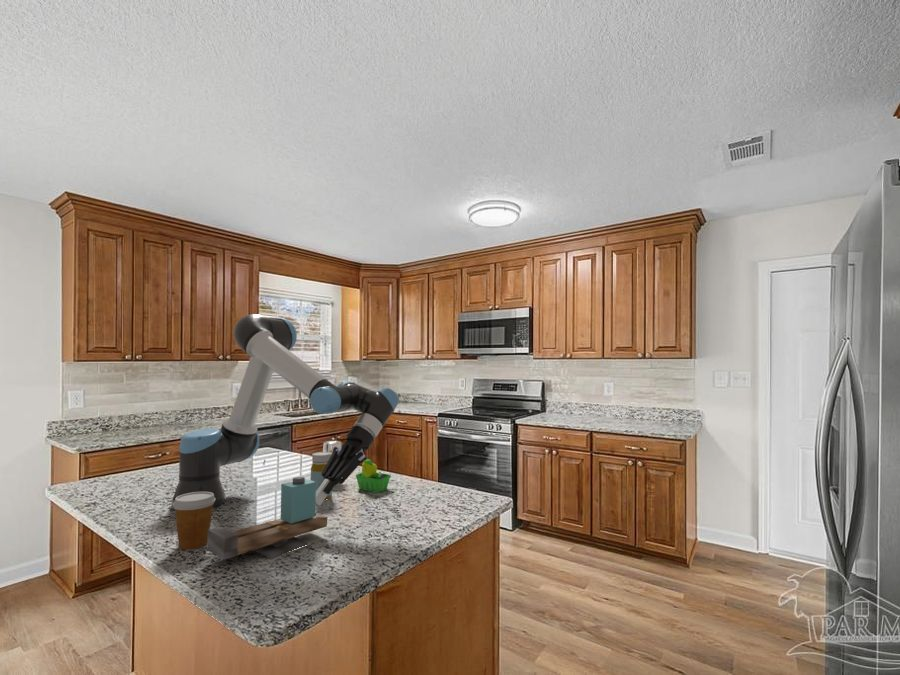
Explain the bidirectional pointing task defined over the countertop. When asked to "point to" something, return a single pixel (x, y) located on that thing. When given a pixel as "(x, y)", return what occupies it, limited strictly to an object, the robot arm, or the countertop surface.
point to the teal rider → (298, 500)
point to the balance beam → (262, 537)
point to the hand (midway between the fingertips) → (315, 502)
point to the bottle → (319, 468)
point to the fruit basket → (372, 478)
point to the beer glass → (331, 446)
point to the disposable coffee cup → (193, 518)
